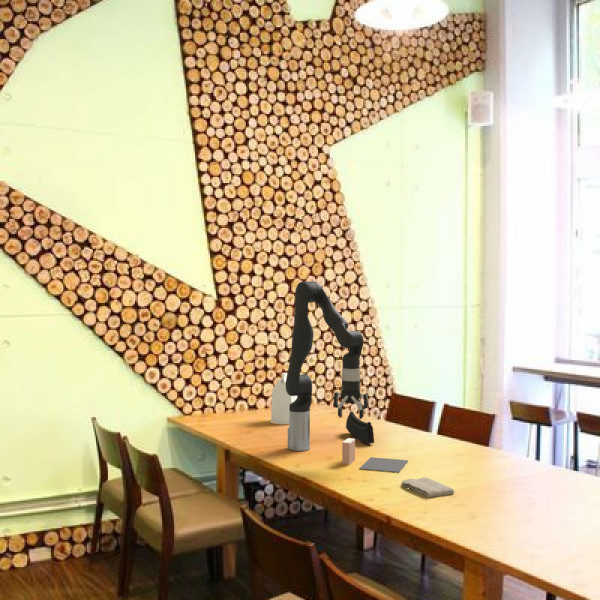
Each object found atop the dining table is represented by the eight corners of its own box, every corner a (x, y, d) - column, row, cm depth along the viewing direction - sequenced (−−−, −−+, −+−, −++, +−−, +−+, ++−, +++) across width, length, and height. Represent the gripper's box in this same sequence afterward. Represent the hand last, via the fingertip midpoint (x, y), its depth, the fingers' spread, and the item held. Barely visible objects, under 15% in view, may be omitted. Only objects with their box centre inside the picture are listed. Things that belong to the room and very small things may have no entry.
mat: (359, 469, 292) (359, 468, 292) (370, 458, 311) (370, 457, 311) (398, 472, 287) (398, 471, 287) (408, 461, 306) (408, 460, 306)
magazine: (376, 427, 333) (354, 398, 360) (369, 427, 332) (348, 398, 359) (372, 460, 338) (351, 429, 365) (365, 461, 337) (345, 430, 364)
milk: (291, 424, 384) (292, 375, 384) (270, 423, 387) (271, 374, 387) (298, 420, 396) (298, 372, 395) (277, 419, 399) (278, 371, 398)
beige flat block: (342, 464, 300) (342, 442, 300) (347, 459, 309) (347, 438, 308) (349, 465, 299) (349, 442, 299) (355, 460, 308) (355, 438, 307)
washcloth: (425, 483, 274) (425, 474, 274) (455, 495, 258) (455, 486, 258) (398, 487, 269) (398, 478, 269) (428, 499, 253) (428, 490, 253)
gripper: (331, 379, 302) (331, 418, 303) (365, 381, 298) (365, 420, 298) (336, 377, 309) (336, 415, 310) (369, 378, 305) (369, 417, 305)
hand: (350, 418), depth 304 cm, fingers open, 8 cm apart
